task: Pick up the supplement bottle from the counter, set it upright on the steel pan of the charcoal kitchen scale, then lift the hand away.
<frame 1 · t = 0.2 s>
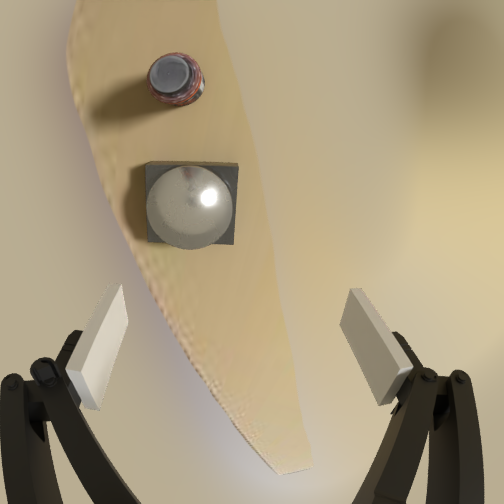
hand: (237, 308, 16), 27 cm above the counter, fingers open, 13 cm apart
supplement bottle: (183, 85, 34), on the counter
kitchen scale: (192, 199, 41), on the counter
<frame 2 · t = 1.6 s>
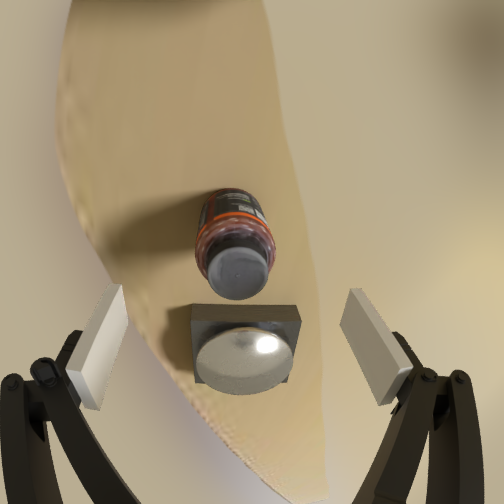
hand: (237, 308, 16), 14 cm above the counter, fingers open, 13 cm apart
supplement bottle: (231, 215, 29), on the counter
kitchen scale: (242, 339, 36), on the counter
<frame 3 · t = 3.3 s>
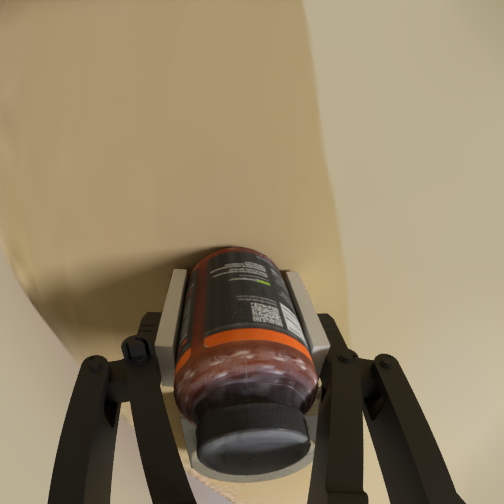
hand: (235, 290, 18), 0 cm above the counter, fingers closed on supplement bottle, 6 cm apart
supplement bottle: (235, 285, 19), on the counter, touching gripper
kitchen scale: (249, 423, 26), on the counter
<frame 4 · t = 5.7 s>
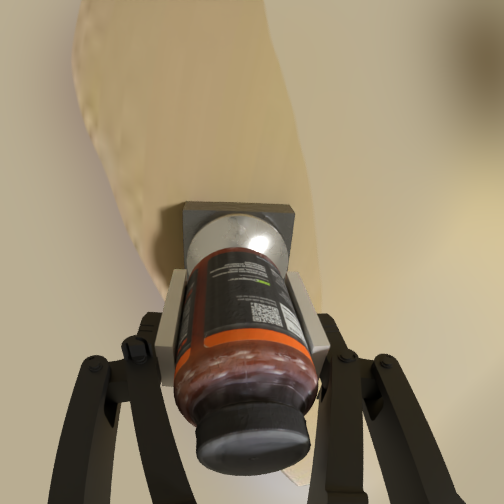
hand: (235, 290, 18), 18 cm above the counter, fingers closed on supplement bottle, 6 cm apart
supplement bottle: (235, 285, 19), point 17 cm above the counter, touching gripper
kitchen scale: (236, 245, 36), on the counter
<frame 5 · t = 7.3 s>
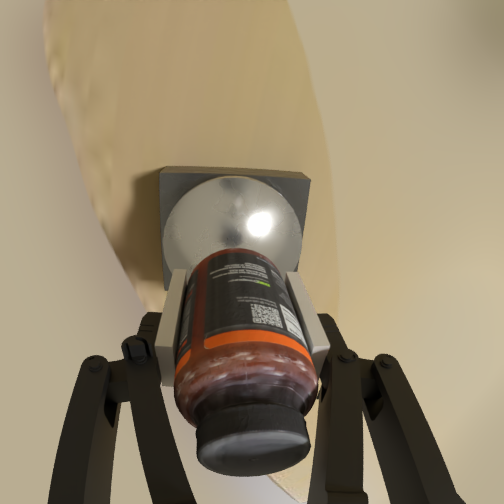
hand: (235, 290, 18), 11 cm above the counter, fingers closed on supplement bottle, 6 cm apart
supplement bottle: (235, 286, 19), point 10 cm above the counter, touching gripper
kitchen scale: (231, 225, 28), on the counter
when the fingers open (7 cm above the counter, at t = 8.3 s): supplement bottle drops 2 cm, resting on kitchen scale.
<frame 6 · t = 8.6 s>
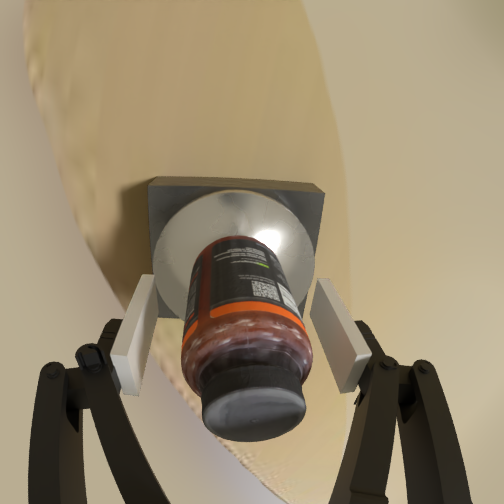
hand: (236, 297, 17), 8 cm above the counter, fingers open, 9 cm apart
supplement bottle: (236, 271, 20), point 5 cm above the counter, touching kitchen scale
kitchen scale: (232, 243, 24), on the counter
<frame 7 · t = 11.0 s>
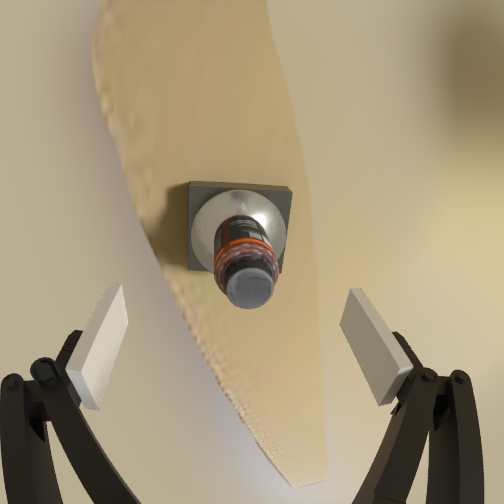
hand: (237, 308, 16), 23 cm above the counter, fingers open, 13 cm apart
supplement bottle: (240, 237, 35), point 5 cm above the counter, touching kitchen scale
kitchen scale: (236, 224, 39), on the counter
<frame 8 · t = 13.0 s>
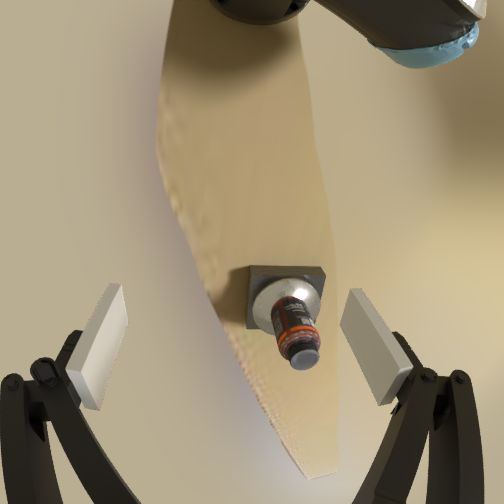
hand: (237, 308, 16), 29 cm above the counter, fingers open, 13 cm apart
supplement bottle: (288, 309, 47), point 5 cm above the counter, touching kitchen scale
kitchen scale: (282, 293, 51), on the counter
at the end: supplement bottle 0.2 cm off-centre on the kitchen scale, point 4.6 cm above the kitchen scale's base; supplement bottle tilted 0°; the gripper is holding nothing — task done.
